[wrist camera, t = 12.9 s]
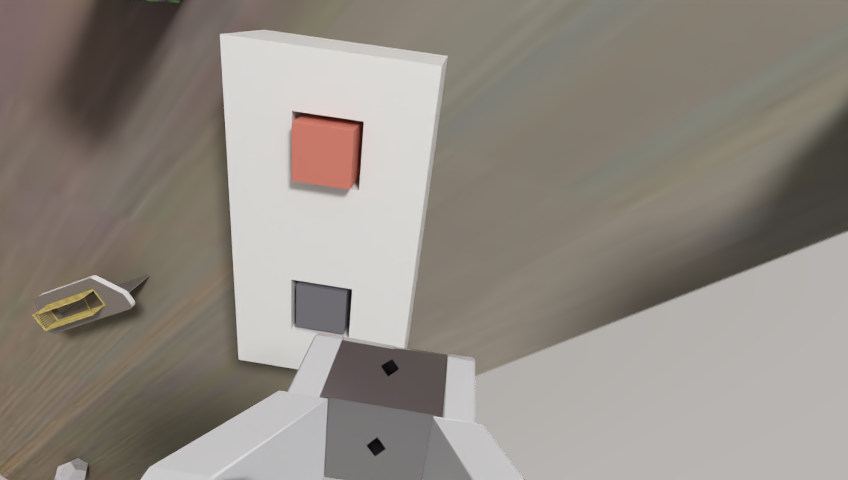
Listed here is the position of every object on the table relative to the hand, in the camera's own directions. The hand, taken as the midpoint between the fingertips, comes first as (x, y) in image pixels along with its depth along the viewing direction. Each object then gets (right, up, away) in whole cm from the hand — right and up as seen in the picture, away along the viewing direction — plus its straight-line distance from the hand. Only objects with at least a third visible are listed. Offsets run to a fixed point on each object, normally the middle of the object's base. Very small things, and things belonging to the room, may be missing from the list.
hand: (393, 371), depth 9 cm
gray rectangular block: (-7, -1, +34) cm, 35 cm away
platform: (-30, -1, +39) cm, 49 cm away
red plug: (-6, +10, +27) cm, 30 cm away
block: (-6, +6, +33) cm, 34 cm away
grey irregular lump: (-43, -26, +52) cm, 72 cm away
